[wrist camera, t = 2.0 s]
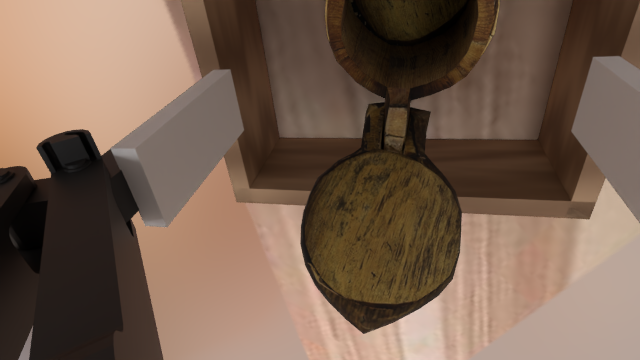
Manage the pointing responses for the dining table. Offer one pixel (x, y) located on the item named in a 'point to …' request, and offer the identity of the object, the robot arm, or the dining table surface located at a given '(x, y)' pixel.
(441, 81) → the wooden mug
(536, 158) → the wooden frame
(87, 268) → the robot arm
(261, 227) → the dining table surface
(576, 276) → the dining table surface
